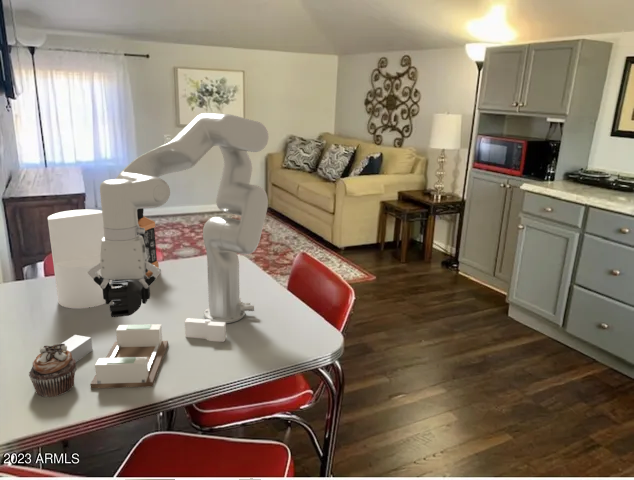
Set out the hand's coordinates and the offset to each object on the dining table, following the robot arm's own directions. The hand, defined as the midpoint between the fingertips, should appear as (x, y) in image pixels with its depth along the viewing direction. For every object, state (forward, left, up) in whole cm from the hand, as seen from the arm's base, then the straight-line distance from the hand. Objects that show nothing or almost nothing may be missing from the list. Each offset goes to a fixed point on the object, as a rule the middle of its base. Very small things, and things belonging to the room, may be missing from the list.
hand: (127, 301), depth 119 cm
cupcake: (+15, +9, -18) cm, 25 cm away
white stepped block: (-17, -13, -18) cm, 28 cm away
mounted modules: (0, 0, -16) cm, 16 cm away
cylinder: (+25, -43, -18) cm, 53 cm away
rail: (0, 0, -16) cm, 16 cm away
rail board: (0, 0, -18) cm, 18 cm away
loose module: (+16, -5, -18) cm, 24 cm away
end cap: (0, 0, -2) cm, 2 cm away
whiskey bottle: (+13, -66, -18) cm, 69 cm away
